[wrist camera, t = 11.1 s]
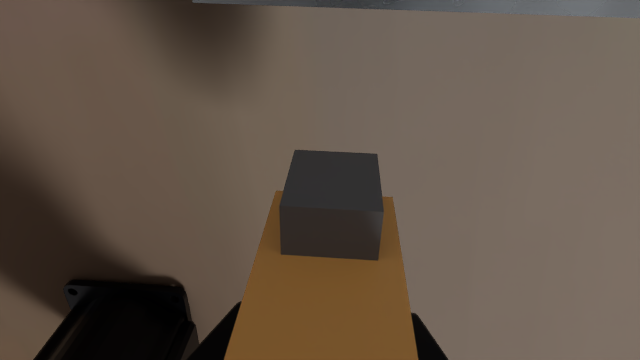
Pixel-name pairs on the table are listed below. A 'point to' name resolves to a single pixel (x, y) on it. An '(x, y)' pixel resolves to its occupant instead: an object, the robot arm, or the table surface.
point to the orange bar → (327, 269)
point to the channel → (471, 6)
